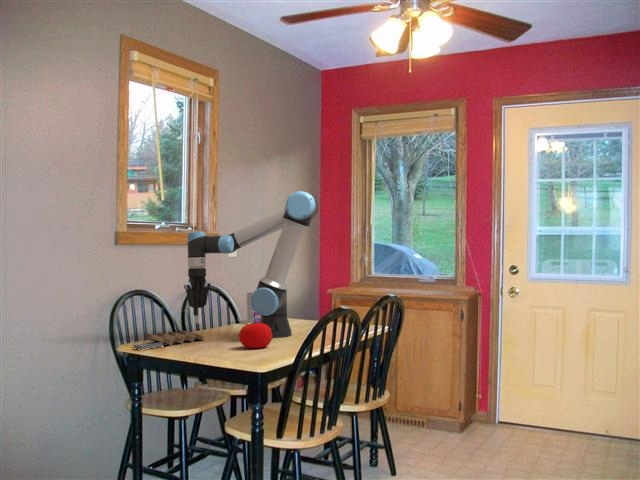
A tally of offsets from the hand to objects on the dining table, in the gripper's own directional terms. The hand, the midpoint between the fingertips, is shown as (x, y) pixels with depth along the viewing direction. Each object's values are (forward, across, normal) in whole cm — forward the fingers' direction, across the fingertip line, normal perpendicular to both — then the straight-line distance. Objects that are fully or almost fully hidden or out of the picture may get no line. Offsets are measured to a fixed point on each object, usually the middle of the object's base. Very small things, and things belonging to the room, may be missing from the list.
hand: (198, 322), depth 269 cm
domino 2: (+6, -16, 0) cm, 17 cm away
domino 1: (+6, -21, 0) cm, 22 cm away
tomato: (+8, -3, -37) cm, 38 cm away
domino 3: (+7, -10, 0) cm, 12 cm away
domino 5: (+7, +1, 0) cm, 7 cm away
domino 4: (+7, -4, 0) cm, 8 cm away
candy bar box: (+8, +57, +21) cm, 61 cm away
